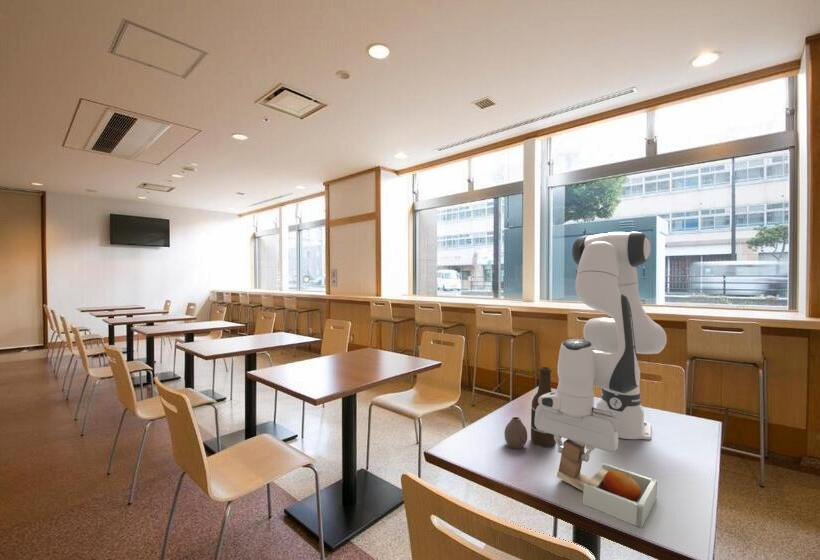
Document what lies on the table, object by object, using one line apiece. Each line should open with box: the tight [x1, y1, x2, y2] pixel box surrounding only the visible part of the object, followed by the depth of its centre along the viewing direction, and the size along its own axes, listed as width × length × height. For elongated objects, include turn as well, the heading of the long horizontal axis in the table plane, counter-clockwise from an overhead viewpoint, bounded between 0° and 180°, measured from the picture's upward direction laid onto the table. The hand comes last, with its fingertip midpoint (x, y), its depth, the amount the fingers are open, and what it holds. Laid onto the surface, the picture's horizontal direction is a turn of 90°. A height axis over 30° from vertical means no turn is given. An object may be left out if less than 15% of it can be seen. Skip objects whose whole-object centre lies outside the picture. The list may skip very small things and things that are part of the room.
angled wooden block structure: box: [556, 439, 608, 492], centre depth 97 cm, size 10×10×10 cm
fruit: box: [603, 470, 642, 503], centre depth 91 cm, size 8×8×8 cm
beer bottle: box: [530, 366, 557, 448], centre depth 123 cm, size 8×8×24 cm
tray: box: [582, 462, 658, 528], centre depth 91 cm, size 15×12×4 cm
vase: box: [504, 416, 528, 449], centre depth 119 cm, size 7×7×9 cm
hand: (573, 456), depth 99 cm, fingers open, 4 cm apart
